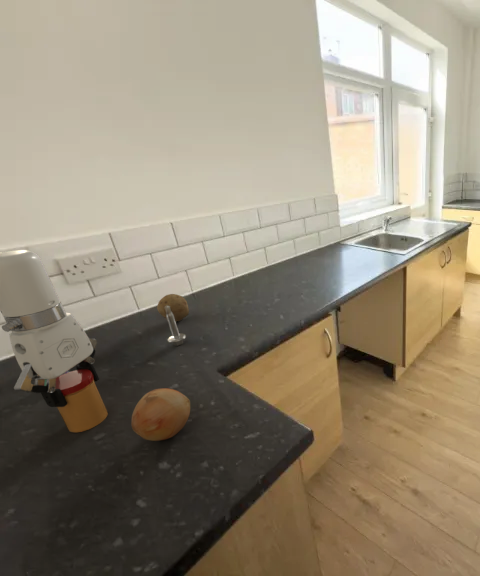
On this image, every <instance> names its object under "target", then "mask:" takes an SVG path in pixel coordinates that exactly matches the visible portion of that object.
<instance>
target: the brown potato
mask: <svg viewBox="0 0 480 576" xmlns="http://www.w3.org/2000/svg"><path fill="white" fill-rule="evenodd" d="M165 306H170V309H171V312H172V314H173V316H174V319H175V321H176V322H175V323H177V321H178V322H181V321H182V320H183V319H184V318H186V317H187V316H189V314H190V309H189V308H190V307H189V305H188V301H187V299H186V298H185V297H183V296H182V295H180V294H176V293H170V294H166V295H164V296H163V297H161V298H160V300H159V301H158V302H157V307H156V309H157V312H158V313H159V314H160V315H161V317H163V318H164V319H166V320H168V319H167V316H166V311H165V308H164V307H165Z"/></svg>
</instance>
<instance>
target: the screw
mask: <svg viewBox="0 0 480 576" xmlns="http://www.w3.org/2000/svg"><path fill="white" fill-rule="evenodd" d="M164 308H165V311H166V316H167V319H168V320H167V319H166V320H167V323H168V326H169V330H170V332H171V336H169V337H168V338H167V343H170V344H172V345H173V346H176V347H178V346H181V345H183V344H184V340H185V339H186V338H187V335H186V334H185V333H182V332H181V333H179V332H180V331H179V328H178V325H177V322H176V321H175V319H174V316H173V314H172V312H171V309H170V306H165V307H164Z"/></svg>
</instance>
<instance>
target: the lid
mask: <svg viewBox="0 0 480 576" xmlns="http://www.w3.org/2000/svg"><path fill="white" fill-rule="evenodd" d="M93 379H94V377H93V374H92V373H91V371H90V370H86V369H82V370H77V369H75V370H72V371H69V372H68V373H65V374H63V375H61V376H59V377H57V378H56V388H55V389H60V390H61V392H62V394H63V395H68V394H72V393H74V392H77V391H79V390H81V389H83V388H85V387H86V386H88V385H89V384H90V383H91V382H92V381H93Z"/></svg>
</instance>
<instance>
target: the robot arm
mask: <svg viewBox="0 0 480 576" xmlns="http://www.w3.org/2000/svg"><path fill="white" fill-rule="evenodd" d="M0 313H1V315H2V316H3V318H4V322H6V323H5V324H3V325H1V329H2V331H4V332H6V333H8V332H10V333H9V340H10V344H11V348H12V351H13V355H14V357H15V359H16V361H17V364H18V366H19V368H20V370H21V372H20V374H19V376H18V378H17V380H16V382H15V384H14V387H13V389H14V391H19V392H26V393H32V394H34V393H35V394H40V395H41V396H42V398H43V400H44V402H45V403H46V405H47V406H48V407H50V408H57V407H64V406H66V405H67V401H66V399H65V397H64V395H63V394H62V392H61V390H60V389H55V388H56V378H57V377H59V376H61V375H62V374H64V373H65V372H67V371H68V370H69V371H70V370H71V369H73V368H74V367H76V370H82V369H86V370H90V371H91V373H92V374H93V377H94V382H95V383H96V382H98V381H100V377H99V374H98V373H97V371H96V369H95V366H94V364H95V355H96V348H97V344H98V340H97V339H95V338H90V337H89V336H88V334H87V333H86V331H85V330H84V328H83V327H82V325H81V324H80V322H79V321H78V320H77V318H76V317H75V316H74V315H73V314H72V313H71V312H66V310H65V308H64V306H63V304H62V301H61V299H60V297H59V294H58V293H57V291H56V288H55V286H54V284H53V282H52V280H51V278H50V276H49V274H48V271H47V269H46V267H45V265H44V263H43V261H42V258H41V257H40V256H39V254H37V253H36V252H35V251H32V250H28V249H27V250H26V249H19V250H10V251H2V252H1V251H0ZM45 379H47V383H46V386H44V384H45ZM32 381H34V384H33V383H32Z"/></svg>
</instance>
